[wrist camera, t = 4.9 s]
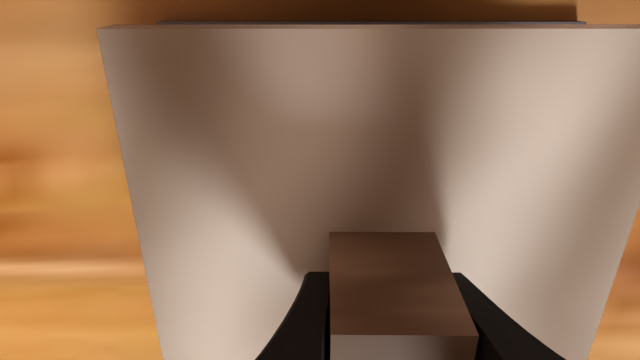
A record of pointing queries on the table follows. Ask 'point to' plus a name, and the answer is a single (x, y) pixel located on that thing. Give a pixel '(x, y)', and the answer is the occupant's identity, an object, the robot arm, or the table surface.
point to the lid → (377, 178)
